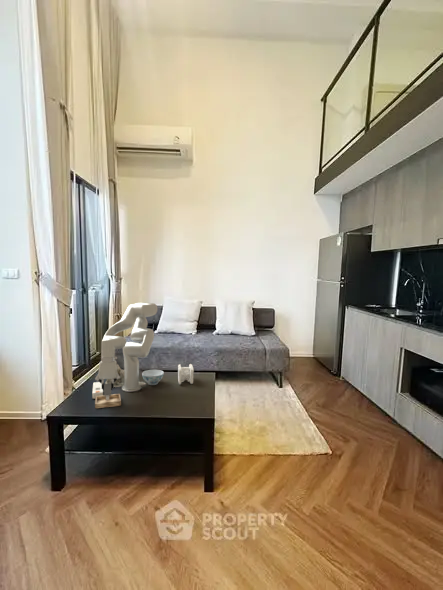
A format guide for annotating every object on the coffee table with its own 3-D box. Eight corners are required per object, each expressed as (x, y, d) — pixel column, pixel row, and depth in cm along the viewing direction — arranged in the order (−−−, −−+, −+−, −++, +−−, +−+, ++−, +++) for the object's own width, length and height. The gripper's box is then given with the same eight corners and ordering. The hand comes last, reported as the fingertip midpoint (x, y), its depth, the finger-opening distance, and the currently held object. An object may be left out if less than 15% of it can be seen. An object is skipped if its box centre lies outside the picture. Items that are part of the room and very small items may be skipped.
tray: (119, 397, 195) (119, 393, 195) (120, 405, 184) (120, 401, 184) (95, 400, 191) (95, 396, 190) (95, 408, 179) (95, 404, 179)
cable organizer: (177, 378, 234) (178, 363, 233) (192, 378, 236) (192, 363, 235) (178, 385, 219) (178, 369, 218) (193, 385, 221) (194, 369, 220)
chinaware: (145, 379, 230) (145, 369, 229) (165, 380, 229) (165, 370, 229) (139, 386, 215) (139, 375, 214) (160, 387, 214) (161, 376, 214)
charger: (111, 400, 186) (111, 386, 190) (111, 398, 181) (111, 383, 185) (103, 401, 184) (104, 386, 188) (103, 399, 179) (104, 384, 183)
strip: (102, 386, 213) (102, 381, 213) (102, 397, 195) (102, 391, 194) (93, 387, 211) (93, 381, 211) (92, 398, 193) (92, 392, 192)
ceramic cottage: (101, 386, 214) (102, 364, 214) (116, 379, 230) (118, 359, 229) (119, 391, 209) (121, 368, 208) (134, 384, 224) (136, 363, 224)
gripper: (122, 357, 192) (121, 386, 193) (93, 358, 186) (92, 389, 187) (123, 360, 185) (122, 390, 186) (92, 361, 179) (92, 393, 180)
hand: (107, 389), depth 186 cm, fingers closed on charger, 3 cm apart
